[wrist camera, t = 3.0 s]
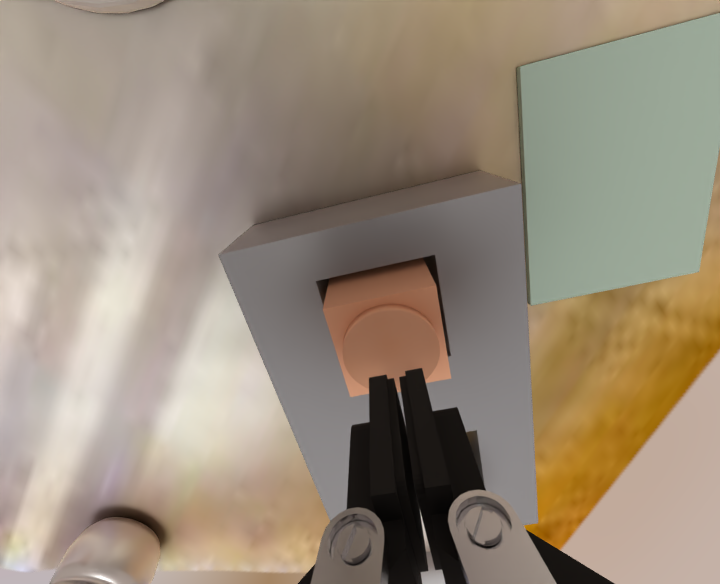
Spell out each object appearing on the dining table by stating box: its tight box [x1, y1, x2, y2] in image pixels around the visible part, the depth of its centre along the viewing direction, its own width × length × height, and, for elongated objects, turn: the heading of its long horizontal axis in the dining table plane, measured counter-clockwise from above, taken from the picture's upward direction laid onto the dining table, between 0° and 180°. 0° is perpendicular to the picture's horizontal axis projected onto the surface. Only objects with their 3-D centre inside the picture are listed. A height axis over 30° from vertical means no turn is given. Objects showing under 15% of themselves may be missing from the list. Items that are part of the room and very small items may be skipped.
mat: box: [517, 13, 720, 306], centre depth 18 cm, size 12×9×1 cm
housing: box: [219, 170, 538, 525], centre depth 20 cm, size 20×12×5 cm, turn 13°
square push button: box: [323, 257, 451, 397], centre depth 16 cm, size 4×4×6 cm
